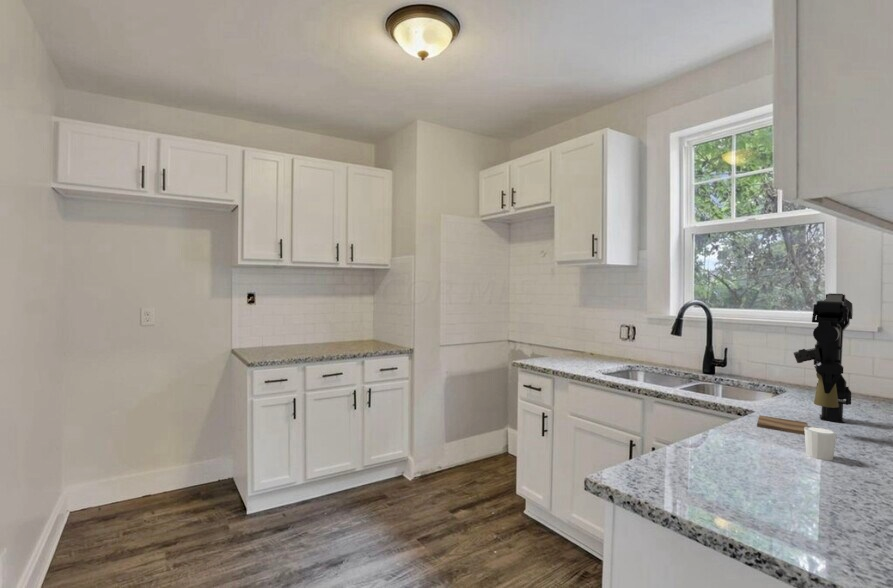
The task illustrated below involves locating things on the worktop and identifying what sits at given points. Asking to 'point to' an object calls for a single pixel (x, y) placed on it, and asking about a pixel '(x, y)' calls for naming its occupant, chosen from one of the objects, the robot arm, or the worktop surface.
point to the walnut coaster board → (781, 424)
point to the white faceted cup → (820, 442)
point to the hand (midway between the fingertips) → (826, 392)
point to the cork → (825, 395)
